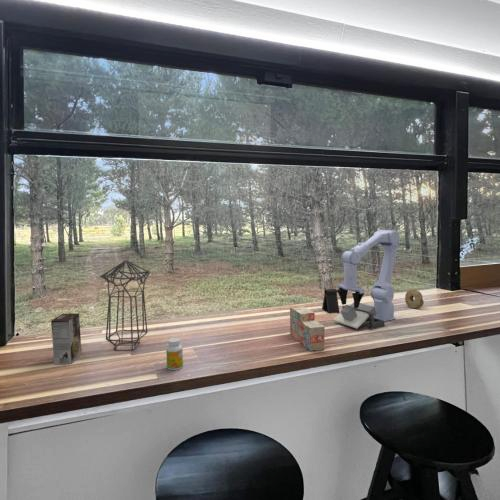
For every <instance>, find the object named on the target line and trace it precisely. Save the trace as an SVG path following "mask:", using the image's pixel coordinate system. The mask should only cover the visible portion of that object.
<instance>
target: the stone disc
mask: <svg viewBox="0 0 500 500" xmlns="http://www.w3.org/2000/svg"><path fill="white" fill-rule="evenodd" d="M404 298H405V299H404V301H405V304H406V305H407V306H408V307H409V308H411V309H420V308H421V307H423V305H424V303H425V302H424V299H423V294H422V293H421V292H420V290H417V289H409V290H408V291H407V292H406V293H405V297H404Z"/></svg>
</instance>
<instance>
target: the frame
mask: <svg viewBox="0 0 500 500" xmlns="http://www.w3.org/2000/svg"><path fill="white" fill-rule="evenodd" d="M345 306H346V305H342V308H341V309H343V308H344V307H345ZM355 311H356V310H355ZM356 312H360V311H356ZM360 313H363V314H367V313H364V312H360ZM367 315H369V318H367V319H366V320H365V321H364V322H367V323H368V324H369V325H368V328H369V329H370V330H374V329H375V330H376V329H378V328H382V327H385V323H386V321H384V320H380V319H377V318H374V314H373V313H371V314H367Z"/></svg>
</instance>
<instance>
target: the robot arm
mask: <svg viewBox="0 0 500 500" xmlns="http://www.w3.org/2000/svg"><path fill="white" fill-rule="evenodd" d="M399 241H400V234H399V232H398V231H397V230H396V229H392V230H391V229H389V230H387V229H378V230H376V231H375V232H374V233H373V235H372V236H371V237H370V238H369V239H367V240H366V241H365V242H358V243H357V244H356V246H355V245H354V247H352V248H350V250H346V251H344V252H343V253H342V255H341V257H340V259H341V262H342V265H343V284H342V283H337V285H336V287H337V288H336V290H337V295H338V296H339V299H340V301H341V302H340V303H341V305H342V306H345V305H347V300H348V299H347V296H348V293H349V291H351V292H353V293H351V294H352V298H353V303H354V308H359V304H360V303H361V300H362V299H363V297H364V295H365V288H363V287H359V286H358V284H357V283H358V264H359V263H360V261H361V259H362V258H363V257H365V255H367V254H368V253H369V251H370V249H371V248H373V247H374V246H376V245H380V246H381V247H382V248H383V249H384V252H383V258H382V262H381V265H380V272H379V277H378V280H377V281H376V282H374V283H373V285H372V288H371V289H370V297H371V298H372V301H373V307H375V309H376V312H377V314H376V315H375V316H374V318H377V319H380V320H384V321H385V322H388V321H391V320H396V318H395V314H394V313H395V305H394V303H393V299H394V298H395V294H394V291H395V287H394V286H393V285H392V284H391V280H392V277H393V276H392V274H393V270H394V265H395V260H396V256H397V252H398V251H397V250H398V246H399Z"/></svg>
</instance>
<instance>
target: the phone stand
mask: <svg viewBox="0 0 500 500" xmlns="http://www.w3.org/2000/svg"><path fill="white" fill-rule="evenodd" d="M337 290H338V289H337V288H329V289H324V292H323V293H324V296H323V300H322V307H321V309H322V311H324V312H325V313H328V314H337V313H338V314H340V307H339V300H338V292H337Z"/></svg>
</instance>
